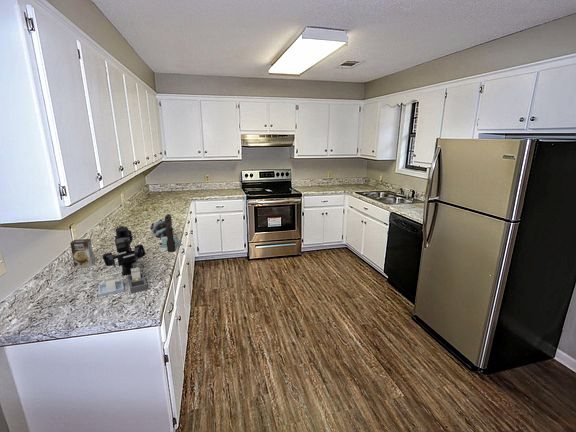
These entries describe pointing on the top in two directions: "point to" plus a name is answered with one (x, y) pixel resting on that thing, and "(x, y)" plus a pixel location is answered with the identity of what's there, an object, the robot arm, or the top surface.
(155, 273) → the top surface
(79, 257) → the coffee box
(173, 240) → the dark tall piece
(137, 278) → the grey boxy piece
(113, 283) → the plug
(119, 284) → the tray
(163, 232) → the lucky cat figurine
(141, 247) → the robot arm
